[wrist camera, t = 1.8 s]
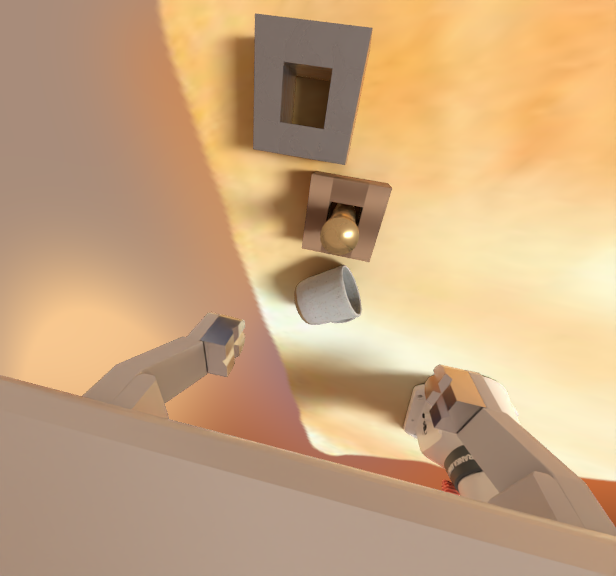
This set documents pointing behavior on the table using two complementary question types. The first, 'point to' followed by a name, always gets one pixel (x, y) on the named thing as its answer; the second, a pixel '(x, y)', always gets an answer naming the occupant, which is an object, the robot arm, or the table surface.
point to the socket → (311, 64)
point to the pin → (340, 230)
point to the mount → (352, 193)
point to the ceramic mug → (328, 297)
